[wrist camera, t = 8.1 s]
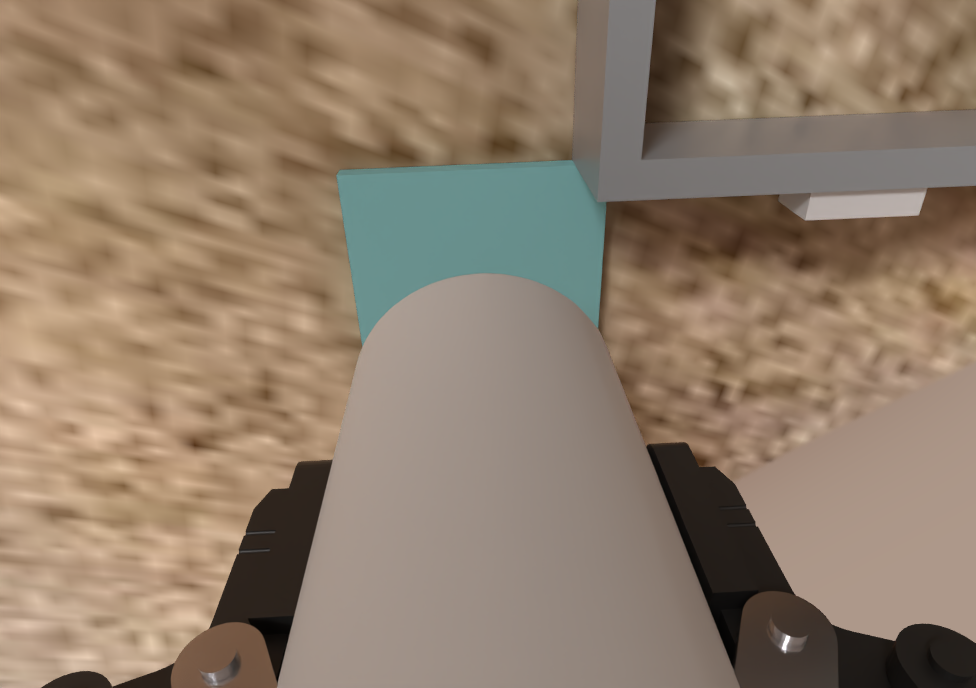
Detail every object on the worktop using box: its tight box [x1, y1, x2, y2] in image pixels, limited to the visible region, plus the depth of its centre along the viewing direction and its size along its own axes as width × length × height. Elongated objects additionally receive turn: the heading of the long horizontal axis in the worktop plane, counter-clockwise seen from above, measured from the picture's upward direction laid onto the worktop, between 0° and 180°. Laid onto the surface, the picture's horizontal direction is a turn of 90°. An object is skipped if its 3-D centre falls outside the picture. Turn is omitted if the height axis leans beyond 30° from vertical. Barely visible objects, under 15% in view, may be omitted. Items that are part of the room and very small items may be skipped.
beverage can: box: [277, 273, 740, 688], centre depth 11 cm, size 6×6×12 cm
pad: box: [336, 160, 607, 347], centre depth 21 cm, size 8×8×1 cm
